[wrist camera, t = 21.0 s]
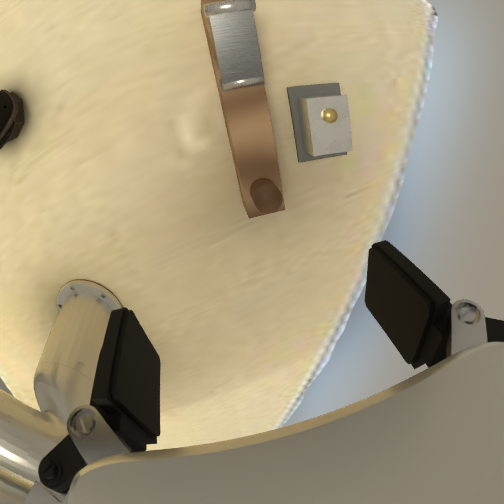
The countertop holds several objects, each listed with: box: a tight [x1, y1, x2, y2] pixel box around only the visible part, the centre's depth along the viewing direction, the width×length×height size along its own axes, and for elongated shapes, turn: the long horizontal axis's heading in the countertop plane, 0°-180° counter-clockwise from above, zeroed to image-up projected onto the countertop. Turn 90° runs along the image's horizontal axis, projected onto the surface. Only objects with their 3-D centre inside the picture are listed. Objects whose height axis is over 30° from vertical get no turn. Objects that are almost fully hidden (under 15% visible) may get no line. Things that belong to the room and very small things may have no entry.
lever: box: [203, 0, 264, 90], centre depth 21 cm, size 2×5×10 cm
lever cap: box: [296, 95, 352, 156], centre depth 31 cm, size 7×5×4 cm
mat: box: [287, 83, 347, 162], centre depth 33 cm, size 10×7×1 cm
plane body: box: [201, 0, 285, 218], centre depth 27 cm, size 26×4×8 cm, turn 11°
